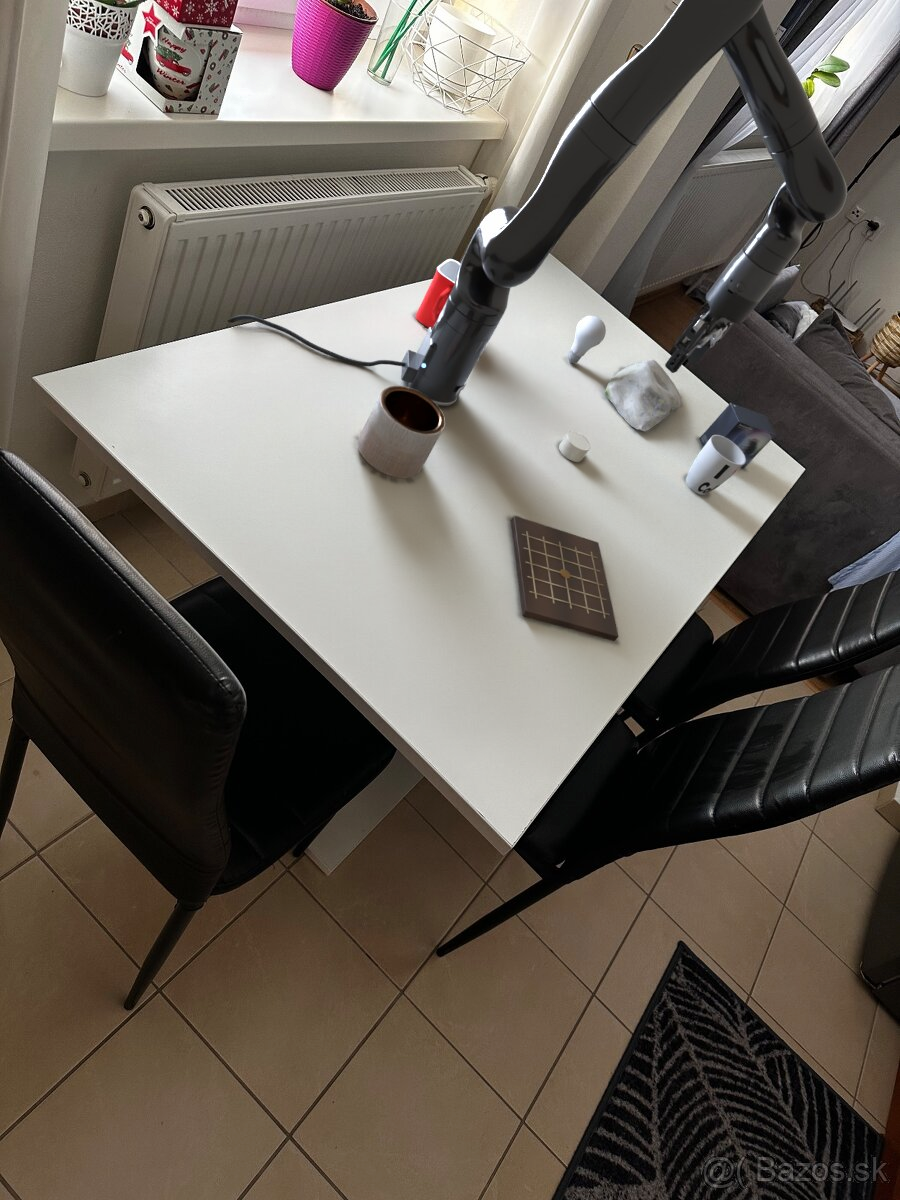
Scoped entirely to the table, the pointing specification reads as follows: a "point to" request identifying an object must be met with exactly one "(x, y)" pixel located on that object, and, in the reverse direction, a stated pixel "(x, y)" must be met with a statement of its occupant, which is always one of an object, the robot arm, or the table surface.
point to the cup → (714, 465)
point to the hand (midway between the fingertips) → (680, 365)
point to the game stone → (574, 446)
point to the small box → (742, 430)
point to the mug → (438, 293)
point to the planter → (401, 431)
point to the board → (562, 579)
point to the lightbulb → (586, 337)
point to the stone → (643, 394)
